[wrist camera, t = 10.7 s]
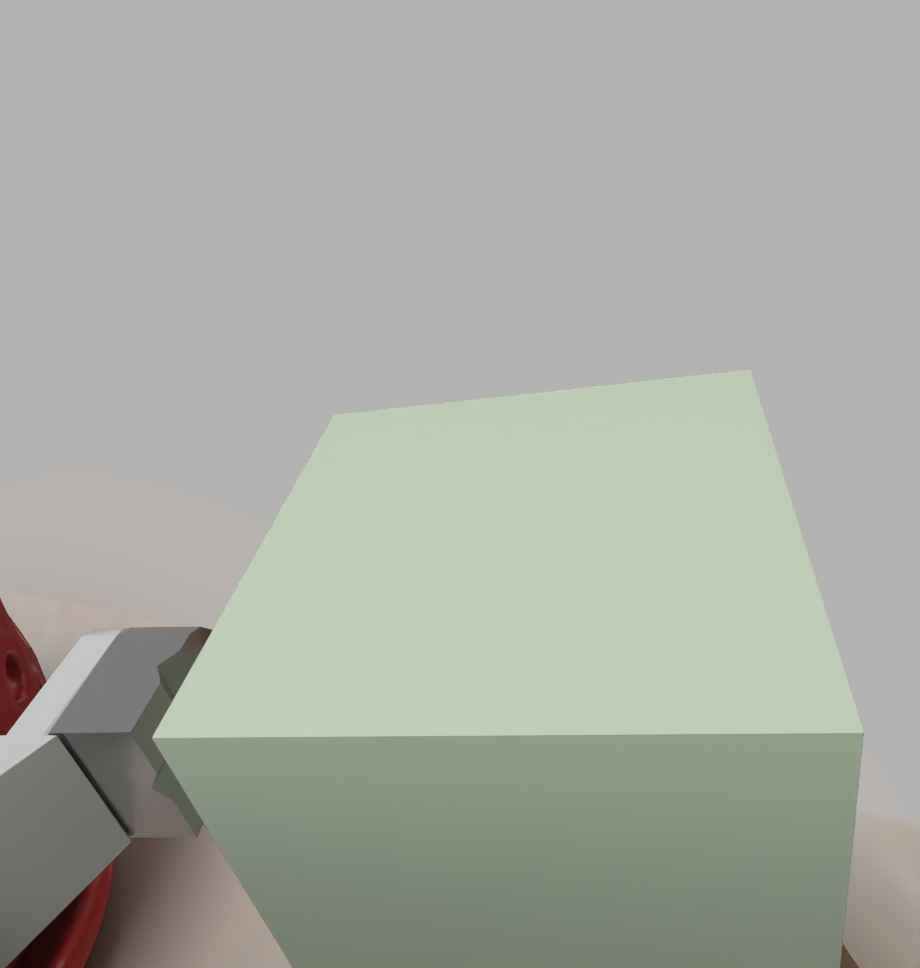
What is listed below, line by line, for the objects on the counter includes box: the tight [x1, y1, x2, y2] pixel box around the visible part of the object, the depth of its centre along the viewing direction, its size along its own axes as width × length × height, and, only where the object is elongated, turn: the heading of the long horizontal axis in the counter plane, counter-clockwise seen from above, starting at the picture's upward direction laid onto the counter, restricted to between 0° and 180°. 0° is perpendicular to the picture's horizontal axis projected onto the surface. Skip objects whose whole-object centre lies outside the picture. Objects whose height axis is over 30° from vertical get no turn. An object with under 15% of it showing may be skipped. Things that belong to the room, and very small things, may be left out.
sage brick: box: [152, 370, 864, 968], centre depth 9 cm, size 4×4×9 cm
